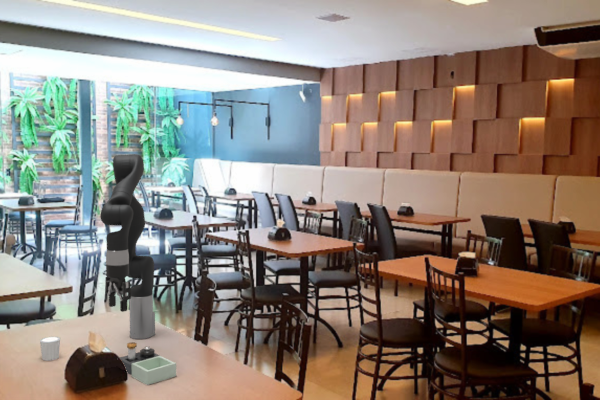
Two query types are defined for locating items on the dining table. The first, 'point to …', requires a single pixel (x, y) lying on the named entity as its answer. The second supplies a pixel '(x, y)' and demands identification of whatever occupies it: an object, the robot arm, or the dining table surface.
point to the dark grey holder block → (138, 358)
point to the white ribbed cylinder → (50, 348)
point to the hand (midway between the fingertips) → (117, 308)
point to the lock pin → (131, 351)
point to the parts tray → (153, 370)
